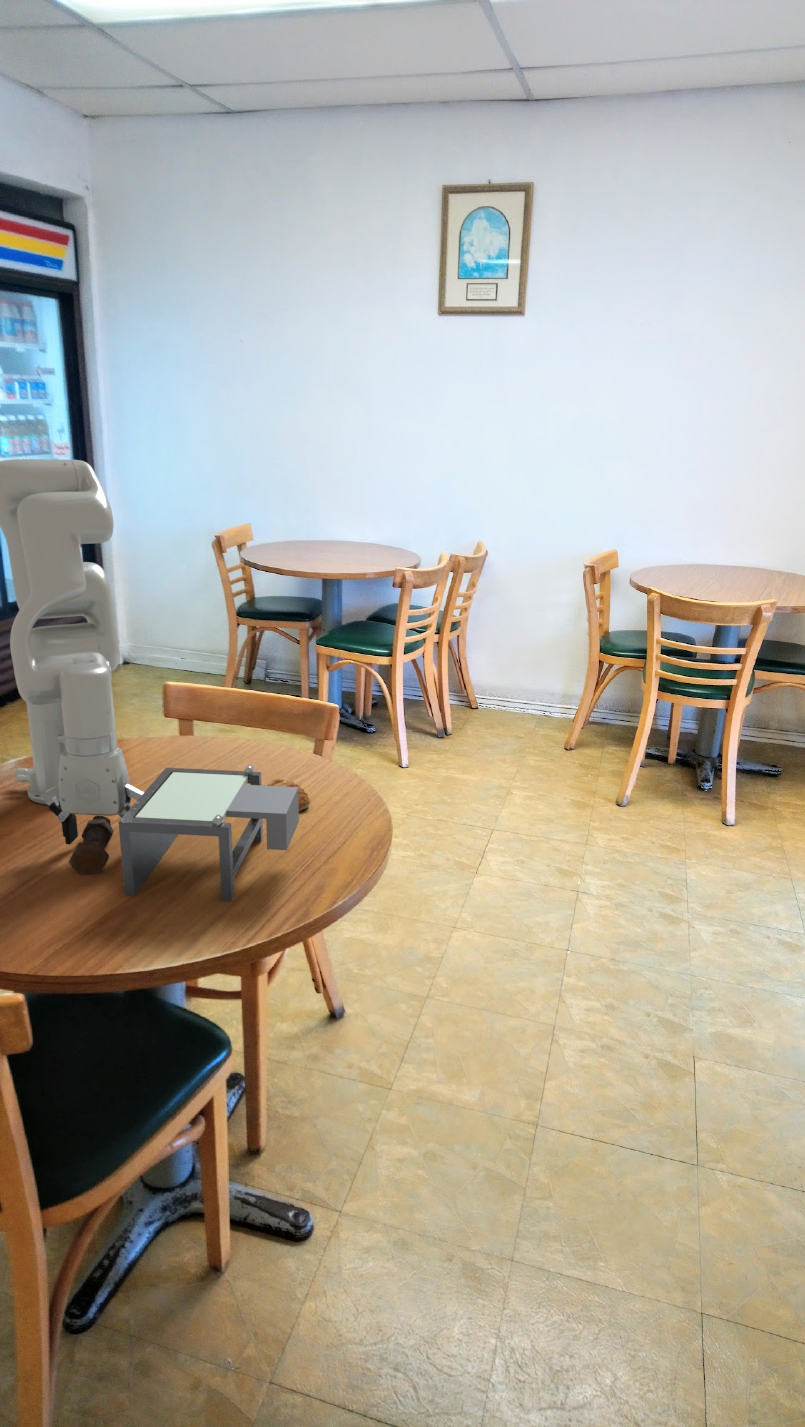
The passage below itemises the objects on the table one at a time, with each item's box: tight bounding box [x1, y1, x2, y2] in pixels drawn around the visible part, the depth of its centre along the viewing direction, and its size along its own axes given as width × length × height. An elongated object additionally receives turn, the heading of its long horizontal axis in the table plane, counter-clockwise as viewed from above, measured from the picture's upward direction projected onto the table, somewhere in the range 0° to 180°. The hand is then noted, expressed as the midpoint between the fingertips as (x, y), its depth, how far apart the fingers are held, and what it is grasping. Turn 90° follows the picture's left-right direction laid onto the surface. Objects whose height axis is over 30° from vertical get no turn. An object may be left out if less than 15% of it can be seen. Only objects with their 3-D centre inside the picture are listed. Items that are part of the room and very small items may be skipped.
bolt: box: [68, 815, 115, 876], centre depth 140 cm, size 6×5×15 cm
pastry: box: [266, 778, 311, 812], centre depth 160 cm, size 9×7×4 cm
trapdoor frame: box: [118, 764, 264, 903], centre depth 135 cm, size 16×21×13 cm
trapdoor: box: [135, 772, 300, 851], centre depth 134 cm, size 21×17×6 cm
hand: (101, 842), depth 141 cm, fingers open, 9 cm apart
